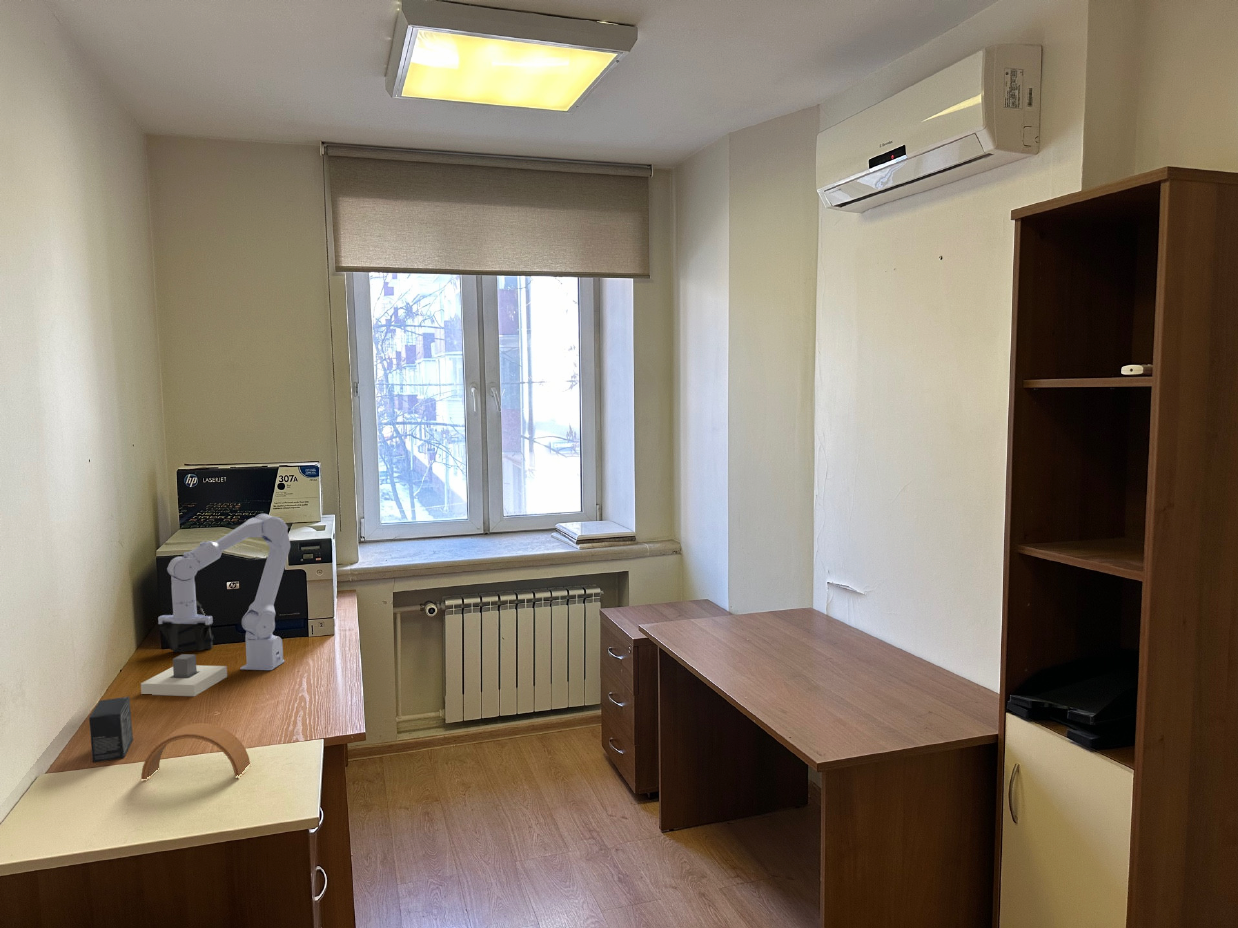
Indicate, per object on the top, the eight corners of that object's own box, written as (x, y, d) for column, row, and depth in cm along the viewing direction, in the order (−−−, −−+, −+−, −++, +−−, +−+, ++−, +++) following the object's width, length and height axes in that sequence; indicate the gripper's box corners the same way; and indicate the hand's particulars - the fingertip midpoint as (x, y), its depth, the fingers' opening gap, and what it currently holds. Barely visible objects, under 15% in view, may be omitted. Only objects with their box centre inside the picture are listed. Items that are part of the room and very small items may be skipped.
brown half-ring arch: (239, 779, 173) (236, 733, 173) (141, 781, 173) (138, 735, 172) (250, 767, 179) (248, 722, 178) (155, 769, 179) (152, 723, 178)
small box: (101, 743, 191) (98, 699, 190) (133, 739, 194) (131, 695, 193) (90, 763, 181) (87, 716, 180) (124, 758, 184) (121, 712, 183)
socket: (227, 676, 235) (226, 666, 235) (194, 696, 220) (194, 685, 220) (177, 674, 237) (176, 664, 237) (141, 694, 222) (140, 683, 222)
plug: (197, 682, 231) (195, 654, 230) (188, 688, 227) (186, 659, 226) (183, 682, 231) (182, 654, 230) (174, 687, 227) (172, 658, 226)
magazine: (222, 643, 260) (197, 602, 257) (181, 665, 257) (154, 624, 254) (224, 639, 264) (198, 599, 261) (183, 661, 261) (157, 621, 257)
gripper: (149, 604, 225) (153, 653, 227) (200, 605, 224) (203, 654, 225) (166, 597, 232) (169, 645, 234) (215, 598, 231) (218, 646, 232)
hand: (187, 649), depth 230 cm, fingers open, 7 cm apart
